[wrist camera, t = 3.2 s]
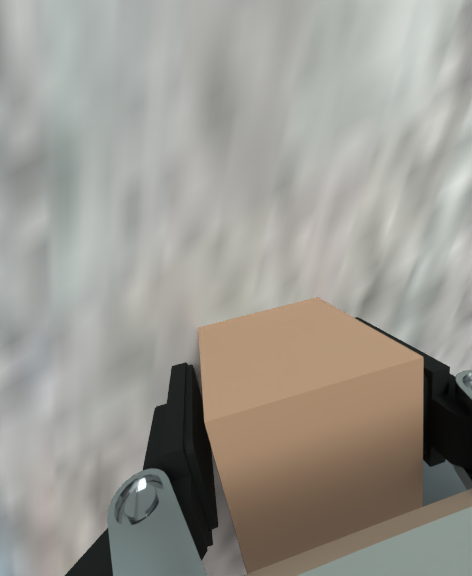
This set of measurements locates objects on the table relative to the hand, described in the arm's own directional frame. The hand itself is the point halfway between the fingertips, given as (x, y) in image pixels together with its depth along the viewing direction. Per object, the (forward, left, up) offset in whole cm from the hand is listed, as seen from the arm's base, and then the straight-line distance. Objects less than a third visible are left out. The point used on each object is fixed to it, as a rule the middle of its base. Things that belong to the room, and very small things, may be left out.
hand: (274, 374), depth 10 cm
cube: (0, 0, -1) cm, 1 cm away
